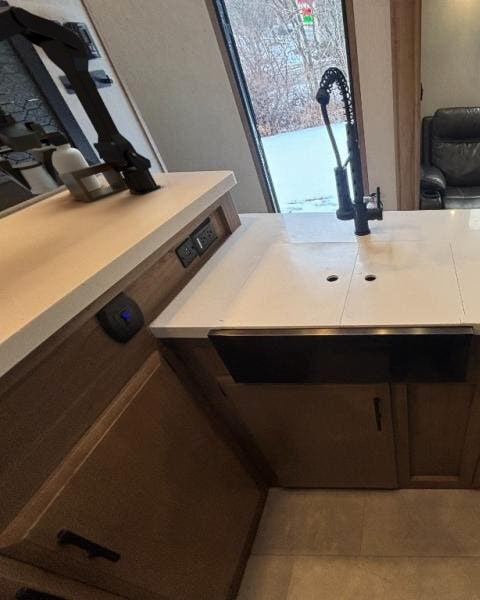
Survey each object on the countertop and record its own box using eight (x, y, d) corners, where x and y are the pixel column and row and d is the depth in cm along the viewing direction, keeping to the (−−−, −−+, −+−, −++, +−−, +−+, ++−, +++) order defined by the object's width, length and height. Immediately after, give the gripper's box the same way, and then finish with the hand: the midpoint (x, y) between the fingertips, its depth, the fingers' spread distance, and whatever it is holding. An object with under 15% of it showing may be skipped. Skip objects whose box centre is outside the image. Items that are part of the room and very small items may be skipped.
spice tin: (52, 185, 79) (33, 160, 75) (64, 187, 78) (45, 161, 74) (27, 193, 76) (6, 167, 72) (39, 195, 74) (18, 168, 70)
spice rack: (75, 199, 99) (54, 170, 93) (114, 186, 107) (97, 159, 102) (90, 201, 96) (70, 172, 91) (129, 188, 105) (113, 160, 99)
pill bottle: (106, 187, 106) (75, 138, 97) (78, 195, 101) (42, 144, 92) (96, 184, 110) (65, 136, 101) (68, 192, 105) (33, 142, 96)
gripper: (-61, 120, 57) (12, 204, 67) (58, 103, 70) (104, 175, 80) (-87, 119, 61) (-15, 199, 70) (30, 103, 74) (77, 172, 84)
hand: (42, 186), depth 76 cm, fingers closed on spice tin, 5 cm apart
